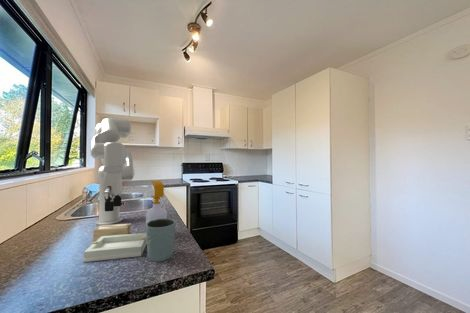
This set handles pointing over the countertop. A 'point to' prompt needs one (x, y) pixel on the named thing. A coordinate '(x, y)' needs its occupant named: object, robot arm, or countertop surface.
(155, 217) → the soap bottle
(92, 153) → the robot arm
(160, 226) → the teal embossed pot
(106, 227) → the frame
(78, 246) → the countertop surface
